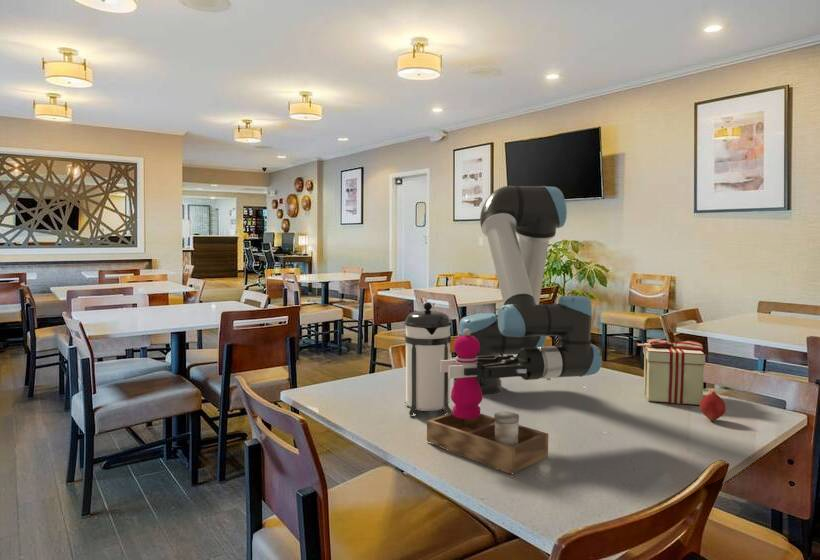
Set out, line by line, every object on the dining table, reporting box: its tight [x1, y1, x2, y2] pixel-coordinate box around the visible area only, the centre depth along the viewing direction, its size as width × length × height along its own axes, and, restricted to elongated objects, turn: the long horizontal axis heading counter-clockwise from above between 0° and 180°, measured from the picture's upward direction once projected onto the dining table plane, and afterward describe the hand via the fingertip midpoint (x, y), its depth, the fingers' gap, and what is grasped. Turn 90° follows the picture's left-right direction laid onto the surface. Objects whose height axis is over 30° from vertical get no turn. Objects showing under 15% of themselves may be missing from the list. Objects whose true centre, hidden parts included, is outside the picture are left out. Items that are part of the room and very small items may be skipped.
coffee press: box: [403, 301, 452, 415], centre depth 150 cm, size 17×16×30 cm
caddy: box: [426, 411, 549, 475], centre depth 122 cm, size 24×13×9 cm, turn 43°
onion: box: [699, 390, 727, 422], centre depth 141 cm, size 6×6×8 cm
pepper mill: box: [450, 329, 483, 419], centre depth 125 cm, size 7×7×20 cm
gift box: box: [636, 338, 706, 406], centre depth 163 cm, size 17×18×17 cm
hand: (445, 369), depth 123 cm, fingers closed on pepper mill, 5 cm apart
